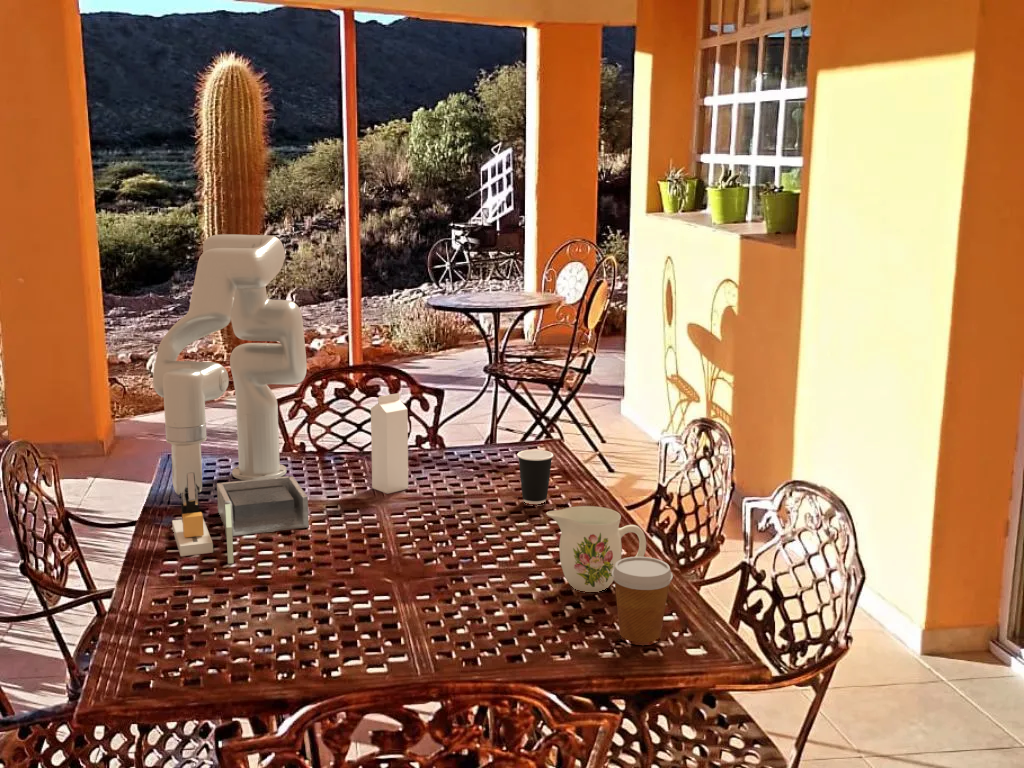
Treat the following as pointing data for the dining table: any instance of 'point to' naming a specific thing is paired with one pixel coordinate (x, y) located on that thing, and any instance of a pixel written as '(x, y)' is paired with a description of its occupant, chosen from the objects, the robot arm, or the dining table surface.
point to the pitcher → (591, 545)
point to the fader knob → (192, 524)
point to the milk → (389, 444)
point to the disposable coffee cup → (641, 596)
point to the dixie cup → (534, 475)
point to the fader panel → (192, 540)
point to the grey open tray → (264, 505)
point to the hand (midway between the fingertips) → (190, 523)
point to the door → (229, 530)
